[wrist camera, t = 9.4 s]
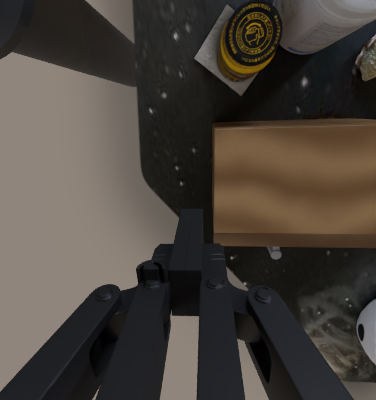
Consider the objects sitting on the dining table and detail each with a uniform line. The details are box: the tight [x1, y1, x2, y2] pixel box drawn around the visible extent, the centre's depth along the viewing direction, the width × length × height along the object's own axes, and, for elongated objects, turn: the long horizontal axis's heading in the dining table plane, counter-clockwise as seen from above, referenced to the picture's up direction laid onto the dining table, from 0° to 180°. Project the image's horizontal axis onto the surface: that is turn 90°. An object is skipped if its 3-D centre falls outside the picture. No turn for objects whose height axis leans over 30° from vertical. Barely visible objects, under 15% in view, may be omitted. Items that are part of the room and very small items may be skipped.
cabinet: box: [212, 118, 376, 248], centre depth 31 cm, size 14×20×13 cm
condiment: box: [194, 0, 283, 96], centre depth 27 cm, size 7×8×12 cm
